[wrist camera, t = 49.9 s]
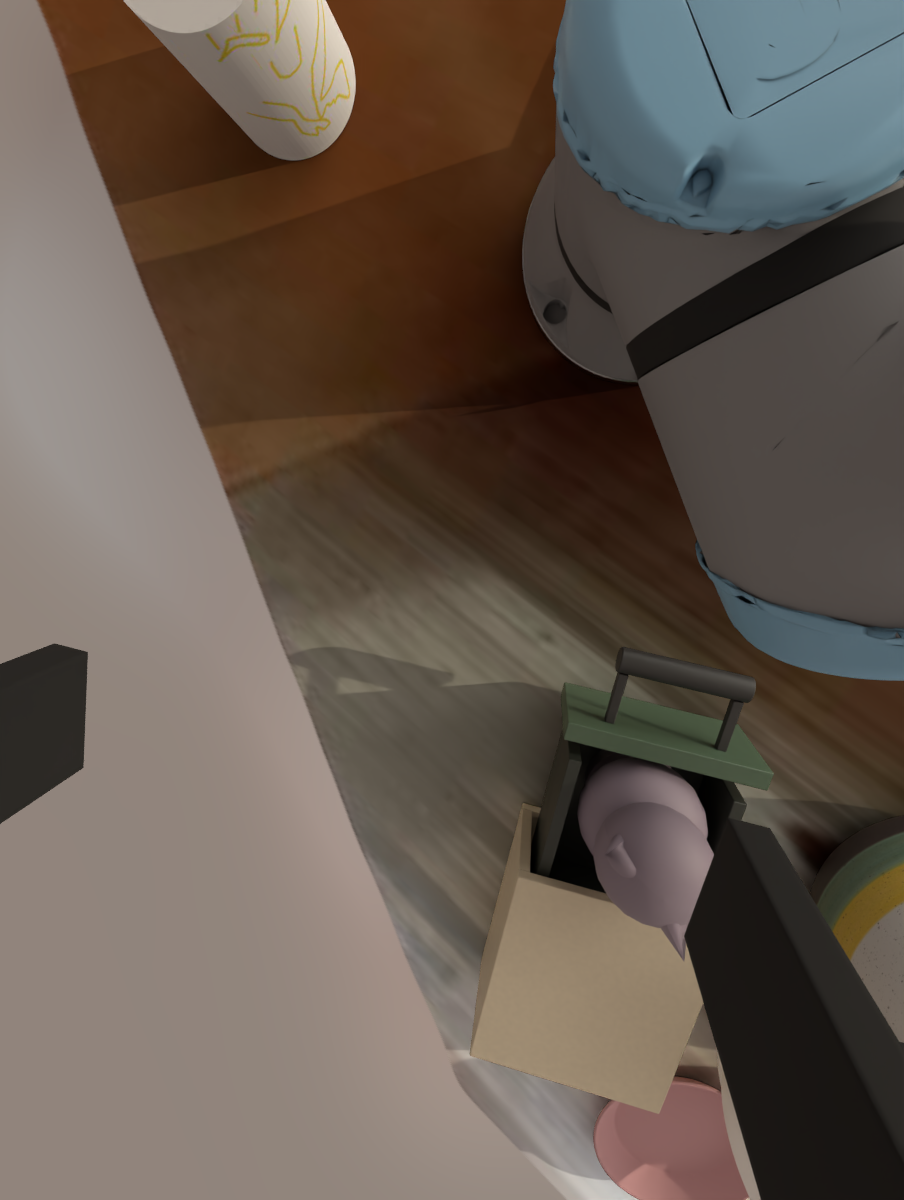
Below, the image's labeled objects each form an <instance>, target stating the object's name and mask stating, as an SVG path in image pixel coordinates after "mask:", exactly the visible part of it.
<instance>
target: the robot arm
mask: <svg viewBox="0 0 904 1200" xmlns="http://www.w3.org/2000/svg"><path fill="white" fill-rule="evenodd" d="M553 68H554V71H555V76H554V80H553V91H554V95H555V99H556V148H555V157H554V159H553V160H552V162H551V163H550V165H549V167H548V168H547V170H546V172H545V174H544V175H543V177H542V179H541V181H540V184H539V186H538V188H537V190H536V193H535V195H534V197H533V200H532V203H531V206H530V209H529V212H528V216H527V220H526V224H525V230H524V236H523V247H522V267H523V276H524V285H525V290H526V295H527V299H528V302H529V306H530V309H531V312H532V314H533V316H534V319H535V321H536V323H537V325H538V327H539V329H540V330H541V332H542V333H543V335H544V336H545V338H546V339H547V341H548V342H549V343H550V345H551V346H552V347H553V348H554V349H555V350H556V351H557V352H558V353H559V354H560V355H561V356H562V357H563V358H564V359H565V360H567V361H568V362H569V363H570V364H572V365H573V366H575V367H576V368H578V369H580V370H581V371H583V372H585V373H587V374H589V375H591V376H594V377H596V378H599V379H602V380H605V381H609V382H613V383H620V384H629V385H639V386H640V389H641V392H642V394H643V397H644V400H645V402H646V405H647V408H648V410H649V413H650V416H651V418H652V421H653V424H654V426H655V429H656V431H657V434H658V437H659V439H660V442H661V445H662V447H663V450H664V453H665V455H666V458H667V461H668V463H669V466H670V468H671V471H672V474H673V476H674V479H675V482H676V484H677V487H678V490H679V492H680V495H681V498H682V500H683V503H684V506H685V508H686V511H687V513H688V516H689V519H690V521H691V524H692V527H693V529H694V532H695V535H696V537H697V541H696V545H695V546H696V553H697V557H698V560H699V563H700V565H701V566H702V568H703V569H704V570H705V571H706V573H707V575H708V577H709V578H710V579H711V580H712V581H713V582H714V585H715V587H716V589H717V591H718V594H719V596H720V598H721V601H722V603H723V605H724V608H725V610H726V612H727V615H728V617H729V619H730V620H731V622H732V624H733V625H734V627H735V628H736V629H738V631H739V632H740V633H741V634H742V635H743V636H744V637H745V638H746V640H747V641H749V642H750V643H751V644H753V645H754V646H755V647H756V648H758V649H759V650H761V651H763V652H765V653H767V654H768V655H770V656H772V657H774V658H776V659H778V660H781V661H783V662H785V663H788V664H791V665H794V666H797V667H800V668H804V669H808V670H811V671H815V672H820V673H825V674H831V675H836V676H843V677H850V678H860V679H872V680H904V0H566V4H565V10H564V15H563V18H562V21H561V24H560V29H559V33H558V37H557V41H556V55H555V60H554V66H553ZM87 659H88V652H85V651H81V650H78V649H74V648H70V647H66V646H62V645H58V644H52V645H49V646H47V647H44V648H41V649H39V650H36V651H33V652H31V653H28V654H26V655H23V656H20V657H18V658H15V659H12V660H10V661H7V662H5V663H2V664H0V824H1V823H2V822H3V821H5V820H6V819H8V818H9V817H11V816H12V815H14V814H15V813H17V812H18V811H20V810H21V809H23V808H24V807H26V806H27V805H29V804H30V803H32V802H33V801H35V800H36V799H37V798H39V797H41V796H42V795H44V794H45V793H47V792H48V791H50V790H51V789H53V788H54V787H55V786H57V785H58V784H60V783H61V782H63V781H64V780H66V779H67V778H69V777H70V776H72V775H73V774H75V773H76V772H78V771H79V770H81V769H82V768H83V762H84V736H85V735H84V734H85V711H86V684H87ZM684 937H685V941H686V944H687V948H688V951H689V955H690V958H691V961H692V965H693V968H694V972H695V975H696V979H697V982H698V985H699V989H700V992H701V996H702V999H703V1003H704V1006H705V1009H706V1013H707V1016H708V1020H709V1023H710V1027H711V1030H712V1033H713V1037H714V1040H715V1044H716V1047H717V1051H718V1054H719V1057H720V1061H721V1064H722V1068H723V1071H724V1075H725V1078H726V1081H727V1085H728V1088H729V1092H730V1095H731V1099H732V1102H733V1105H734V1109H735V1112H736V1116H737V1119H738V1123H739V1126H740V1129H741V1133H742V1136H743V1140H744V1143H745V1147H746V1150H747V1153H748V1157H749V1160H750V1164H751V1167H752V1171H753V1174H754V1177H755V1181H756V1184H757V1188H758V1191H759V1195H760V1198H761V1200H904V1043H903V1042H899V1040H898V1039H897V1037H896V1035H895V1034H894V1032H893V1030H892V1029H891V1027H890V1026H889V1024H888V1022H887V1021H886V1019H885V1017H884V1016H883V1014H882V1012H881V1011H880V1009H879V1007H878V1006H877V1004H876V1002H875V1001H874V999H873V998H872V996H871V994H870V993H869V991H868V989H867V988H866V986H865V984H864V983H863V981H862V979H861V978H860V976H859V974H858V973H857V971H856V970H855V968H854V966H853V965H852V963H851V961H850V960H849V958H848V956H847V955H846V953H845V951H844V950H843V948H842V946H841V945H840V943H839V942H838V940H837V938H836V937H835V935H834V933H833V932H832V930H831V928H830V927H829V925H828V923H827V922H826V920H825V918H824V917H823V915H822V914H821V912H820V910H819V909H818V907H817V905H816V904H815V902H814V900H813V899H812V897H811V895H810V894H809V892H808V890H807V889H806V887H805V886H804V884H803V882H802V881H801V879H800V877H799V876H798V874H797V872H796V871H795V869H794V867H793V866H792V864H791V862H790V861H789V859H788V858H787V856H786V854H785V853H784V851H783V849H782V848H781V846H780V844H779V843H778V841H777V839H776V838H775V836H774V834H773V833H772V831H771V830H770V828H766V827H762V826H758V825H755V824H751V823H747V822H743V821H739V820H735V819H731V818H728V819H727V821H726V824H725V827H724V829H723V832H722V835H721V837H720V840H719V843H718V846H717V848H716V851H715V854H714V856H713V859H712V862H711V864H710V867H709V870H708V872H707V875H706V878H705V881H704V883H703V886H702V889H701V891H700V894H699V897H698V899H697V902H696V905H695V907H694V910H693V913H692V916H691V918H690V921H689V924H688V926H687V929H686V932H685V934H684Z"/></svg>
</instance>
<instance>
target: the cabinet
mask: <svg viewBox="0 0 904 1200" xmlns="http://www.w3.org/2000/svg"><path fill="white" fill-rule="evenodd" d="M540 810H541V808H540V807H536V806H532V805H529V804H525V803H523V804H522V807H521V811H520V815H519V819H518V823H517V826H516V830H515V834H514V838H513V842H512V845H511V849H510V853H509V857H508V860H507V864H506V868H505V872H504V876H503V879H502V883H501V887H500V891H499V895H498V898H497V902H496V906H495V910H494V914H493V917H492V921H491V925H490V929H489V932H488V936H487V940H486V944H485V948H484V951H483V955H482V960H481V968H480V976H479V984H478V992H477V1000H476V1008H475V1016H474V1024H473V1032H472V1040H471V1048H470V1056H473V1057H476V1058H479V1059H482V1060H486V1061H489V1062H492V1063H495V1064H499V1065H502V1066H505V1067H508V1068H511V1069H515V1070H518V1071H521V1072H524V1073H528V1074H531V1075H534V1076H537V1077H541V1078H544V1079H547V1080H550V1081H553V1082H557V1083H560V1084H563V1085H566V1086H570V1087H573V1088H576V1089H579V1090H582V1091H586V1092H589V1093H592V1094H595V1095H599V1096H602V1097H605V1098H608V1099H611V1100H615V1101H618V1102H621V1103H624V1104H628V1105H631V1106H634V1107H637V1108H641V1109H644V1110H647V1111H650V1112H653V1113H657V1114H659V1113H660V1110H661V1108H662V1105H663V1103H664V1100H665V1098H666V1095H667V1093H668V1090H669V1088H670V1085H671V1083H672V1080H673V1078H674V1075H675V1073H676V1070H677V1068H678V1065H679V1063H680V1060H681V1058H682V1055H683V1053H684V1050H685V1047H686V1045H687V1042H688V1040H689V1037H690V1035H691V1032H692V1030H693V1027H694V1025H695V1022H696V1020H697V1017H698V1015H699V1012H700V1010H701V1007H702V1005H703V999H702V996H701V992H700V989H699V985H698V982H697V979H696V975H695V972H694V968H693V965H692V961H691V958H690V955H689V951H688V948H687V944H686V950H685V960H684V961H683V960H682V958H681V957H680V955H679V954H678V952H677V951H676V950H675V948H674V947H673V945H672V944H671V942H670V941H669V940H668V938H667V937H666V935H665V934H664V932H663V931H662V929H661V928H656V927H652V926H648V925H645V924H642V923H640V922H638V921H636V920H635V919H633V918H631V917H629V916H627V915H626V914H624V913H623V912H622V911H621V910H620V909H619V908H618V907H617V906H616V905H615V904H614V903H613V902H612V901H611V900H610V899H609V898H608V896H607V894H606V893H603V892H599V891H595V890H592V889H588V888H584V887H581V886H577V885H574V884H570V883H566V882H563V881H559V880H555V879H552V878H548V877H545V876H541V875H537V874H534V873H530V862H531V843H532V839H533V835H534V832H535V828H536V824H537V821H538V817H539V813H540Z"/></svg>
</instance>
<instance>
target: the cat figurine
mask: <svg viewBox="0 0 904 1200" xmlns="http://www.w3.org/2000/svg"><path fill="white" fill-rule="evenodd" d="M584 782H585V786H584V788H583V789H582V791H581V793H580V798H579V805H578V811H577V815H578V821H579V826H580V831H581V835H582V837H583V839H584V841H585V843H586V844H587V846H588V848H589V850H590V852H591V853H592V855H593V856H594V862H595V868H596V873H597V877H598V880H599V881H600V883H601V885H602V887H603V889H604V890H605V892H606V894H607V896H608V898H609V899H610V900H611V901H612V902H613V903H614V904H615V905H616V906H617V907H618V908H619V909H620V910H621V911H622V912H623V913H624V914H626V915H627V916H629V917H631V918H633V919H635V920H636V921H638V922H640V923H642V924H645V925H648V926H652V927H656V928H661V929H662V931H663V932H664V934H665V935H666V937H667V938H668V940H669V941H670V942H671V944H672V945H673V947H674V948H675V950H676V951H677V952H678V954H679V955H680V957H681V958H682V960H683V961H684V960H685V950H686V941H685V937H684V934H685V932H686V929H687V926H688V924H689V921H690V918H691V916H692V913H693V910H694V907H695V905H696V902H697V899H698V897H699V894H700V891H701V889H702V886H703V883H704V881H705V878H706V875H707V872H708V870H709V867H710V864H711V862H712V859H713V856H714V853H713V851H712V849H711V848H710V846H709V844H708V842H707V835H708V828H707V821H706V814H705V810H704V807H703V805H702V803H701V802H700V800H699V798H698V796H697V794H696V792H695V790H694V789H693V787H692V786H691V785H690V784H689V783H688V782H687V781H686V780H685V779H684V778H683V777H682V776H681V775H680V774H679V773H677V772H676V771H674V770H672V768H671V766H667V765H664V764H660V763H656V762H652V761H648V760H644V759H640V758H636V757H632V756H628V755H624V754H620V753H616V752H612V751H608V750H604V749H602V750H601V751H600V752H599V753H597V754H596V755H595V756H594V757H593V758H592V760H591V761H590V763H589V765H588V766H587V769H586V773H585V778H584Z"/></svg>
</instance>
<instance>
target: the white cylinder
mask: <svg viewBox="0 0 904 1200" xmlns="http://www.w3.org/2000/svg"><path fill="white" fill-rule="evenodd" d="M124 2H125V3H126V4H127V5H128V6H129V7H130V8H131V10H132V11H133V12H134V13H135V14H136V15H137V16H138V17H139V18H140V19H141V20H142V21H143V23H144V24H145V25H146V26H147V27H148V28H149V29H150V30H151V31H152V32H153V33H154V34H155V36H156V37H157V38H158V39H159V40H160V41H161V42H162V43H163V44H164V45H165V46H166V47H167V49H168V50H169V51H170V52H171V53H172V54H173V55H174V56H175V57H176V58H177V59H178V60H179V62H180V63H181V64H182V65H183V66H184V67H185V68H186V69H187V70H188V71H189V72H190V73H191V74H192V76H193V77H194V78H195V79H196V80H197V81H198V82H199V83H200V84H201V85H202V86H203V87H204V89H205V90H206V91H207V92H208V93H209V94H210V95H211V96H212V97H213V98H214V99H215V100H216V102H217V103H218V104H219V105H220V106H221V107H222V108H223V109H224V110H225V111H226V112H227V113H228V115H229V116H230V117H231V118H232V119H233V120H234V121H235V122H236V123H237V124H238V125H239V126H240V127H241V129H242V130H243V131H244V132H245V133H246V134H247V135H248V136H249V137H250V138H251V139H252V140H253V142H254V143H255V144H256V145H257V146H259V147H260V148H261V149H262V150H264V151H265V152H267V153H268V154H270V155H272V156H274V157H277V158H280V159H284V160H303V159H307V158H310V157H313V156H315V155H317V154H319V153H321V152H323V151H324V150H325V149H327V148H328V147H329V146H330V145H331V144H332V143H333V142H334V141H335V140H336V139H337V138H338V136H339V135H340V134H341V132H342V131H343V129H344V127H345V125H346V124H347V121H348V119H349V117H350V114H351V111H352V107H353V103H354V98H355V87H356V81H355V70H354V64H353V60H352V57H351V53H350V51H349V48H348V46H347V44H346V42H345V40H344V38H343V36H342V34H341V32H340V29H339V27H338V25H337V23H336V21H335V19H334V17H333V15H332V13H331V11H330V9H329V7H328V4H327V2H326V0H124Z"/></svg>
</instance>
